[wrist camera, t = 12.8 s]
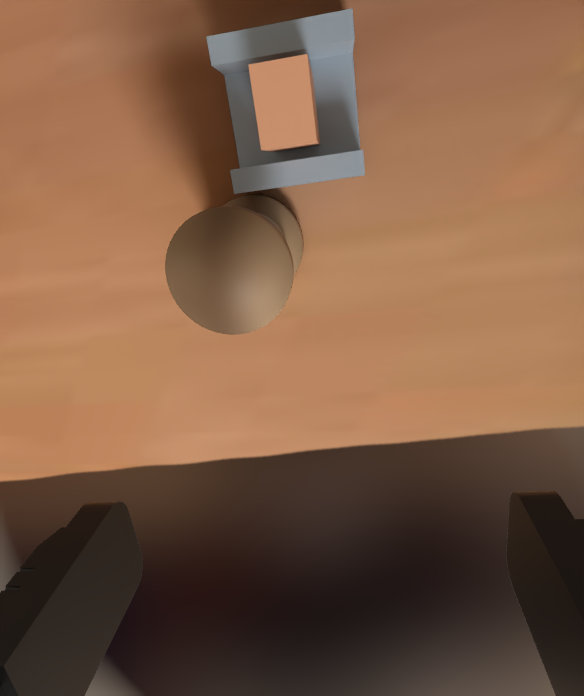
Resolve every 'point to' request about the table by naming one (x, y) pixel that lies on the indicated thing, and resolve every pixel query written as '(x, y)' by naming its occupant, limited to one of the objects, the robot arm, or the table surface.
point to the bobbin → (235, 264)
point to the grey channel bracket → (330, 94)
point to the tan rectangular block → (285, 103)
